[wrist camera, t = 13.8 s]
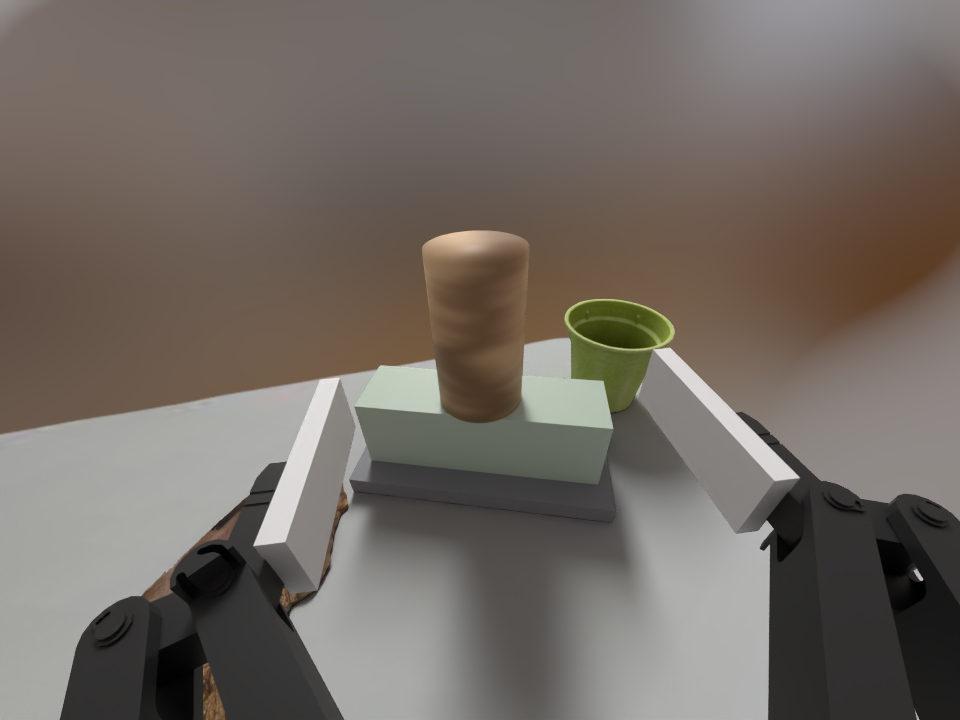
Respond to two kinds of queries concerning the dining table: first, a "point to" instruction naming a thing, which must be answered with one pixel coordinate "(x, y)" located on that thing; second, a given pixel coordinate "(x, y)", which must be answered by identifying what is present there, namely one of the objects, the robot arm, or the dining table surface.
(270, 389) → the dining table surface
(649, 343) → the plant pot
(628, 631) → the dining table surface
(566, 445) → the block
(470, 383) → the tan wooden cylinder
